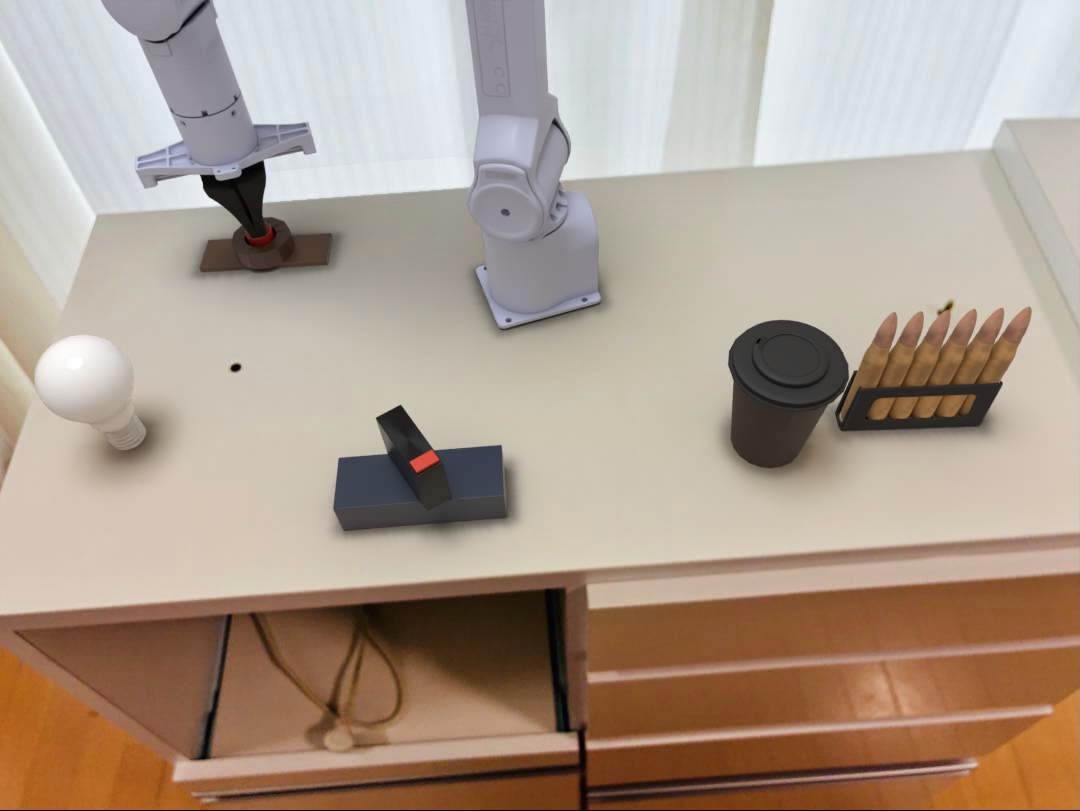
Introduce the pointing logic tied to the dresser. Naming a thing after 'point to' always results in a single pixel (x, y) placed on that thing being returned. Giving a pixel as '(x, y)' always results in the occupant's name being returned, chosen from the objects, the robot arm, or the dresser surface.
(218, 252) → the block
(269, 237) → the release button
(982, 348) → the ammunition clip
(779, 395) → the coffee cup
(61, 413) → the lightbulb
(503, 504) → the switch base
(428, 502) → the black block red marker
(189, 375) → the dresser surface
